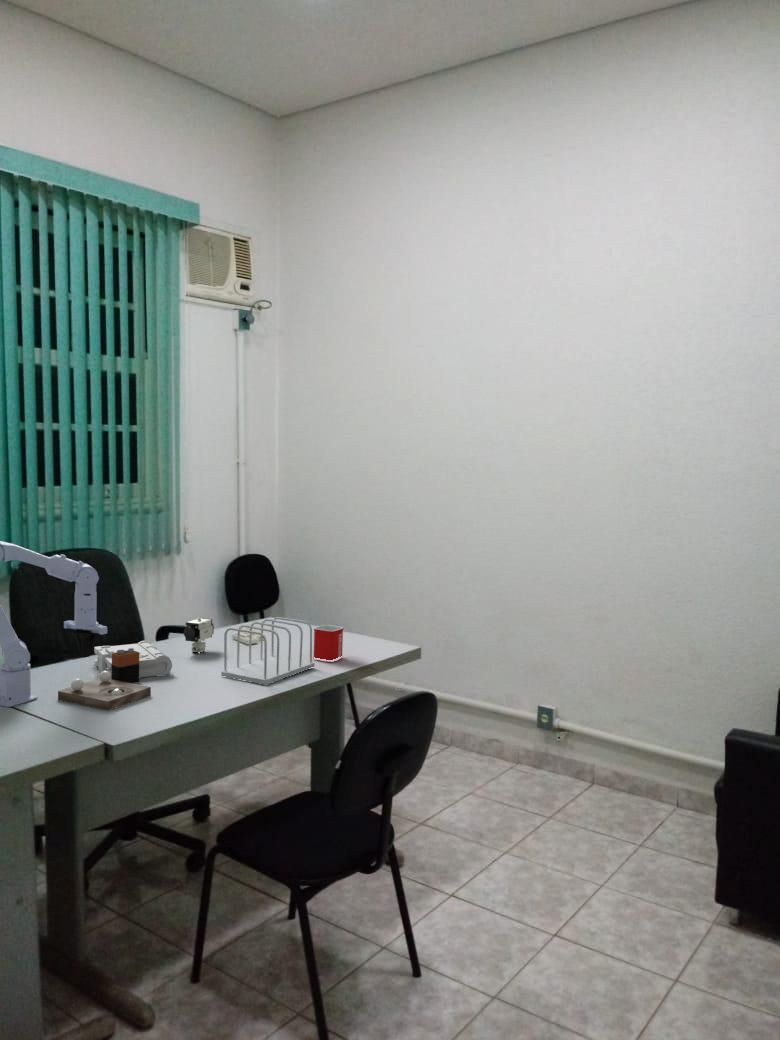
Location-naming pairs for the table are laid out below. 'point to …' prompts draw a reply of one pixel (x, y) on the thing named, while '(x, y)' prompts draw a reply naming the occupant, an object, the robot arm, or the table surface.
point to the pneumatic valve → (198, 633)
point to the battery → (125, 666)
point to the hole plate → (105, 694)
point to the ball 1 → (77, 684)
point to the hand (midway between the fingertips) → (85, 656)
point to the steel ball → (116, 691)
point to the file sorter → (268, 666)
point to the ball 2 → (105, 676)
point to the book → (148, 658)
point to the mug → (328, 642)
